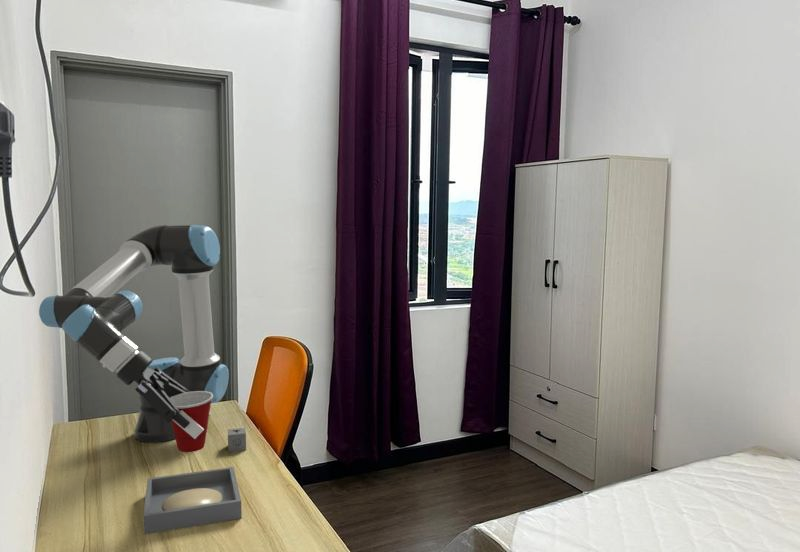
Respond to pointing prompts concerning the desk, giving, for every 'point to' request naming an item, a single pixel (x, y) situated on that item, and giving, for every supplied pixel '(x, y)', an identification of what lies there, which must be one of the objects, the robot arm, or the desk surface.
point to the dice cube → (236, 439)
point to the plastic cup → (198, 410)
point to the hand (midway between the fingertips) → (203, 425)
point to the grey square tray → (191, 500)
